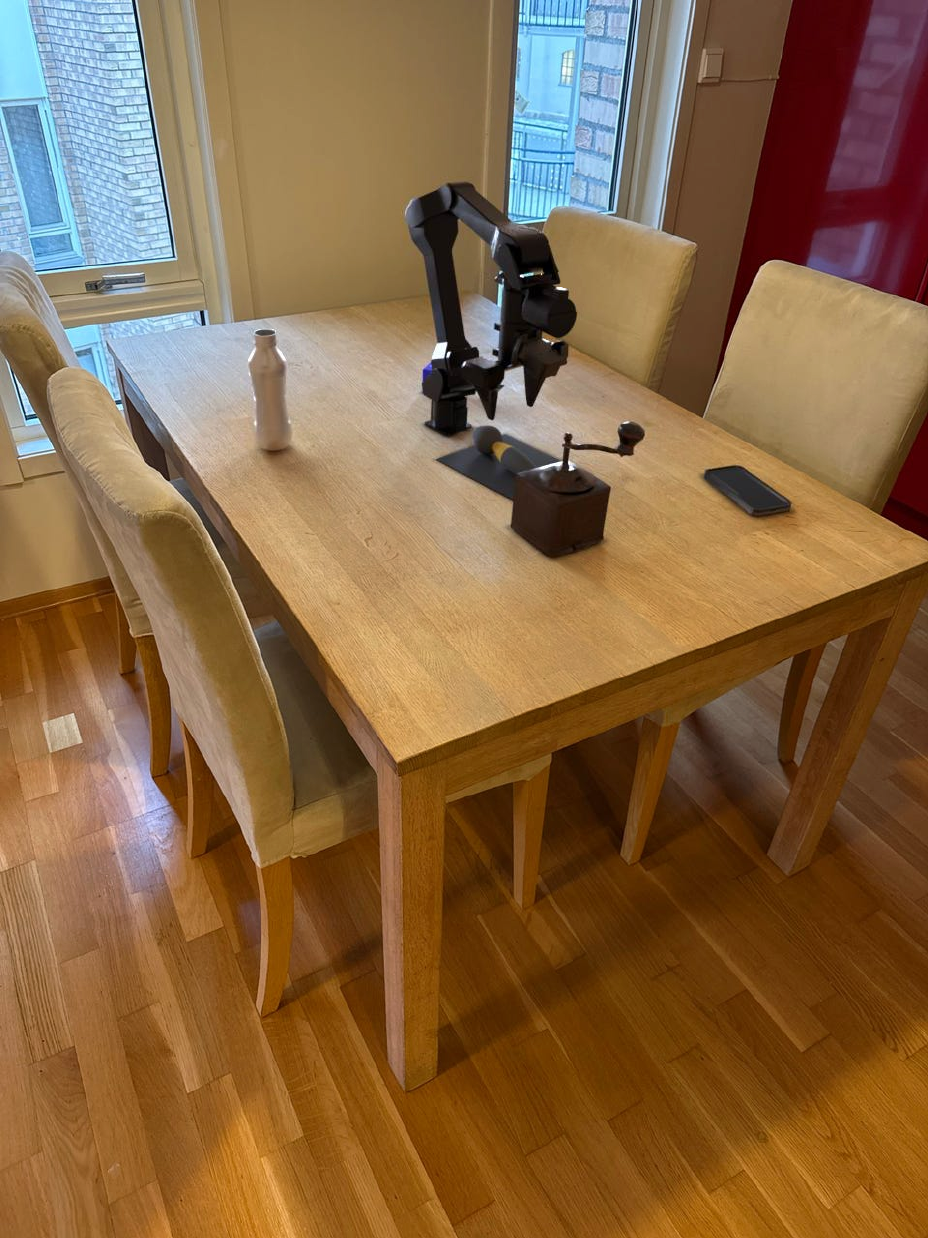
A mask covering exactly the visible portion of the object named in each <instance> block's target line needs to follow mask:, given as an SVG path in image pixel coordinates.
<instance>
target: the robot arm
mask: <svg viewBox="0 0 928 1238" xmlns="http://www.w3.org/2000/svg"><path fill="white" fill-rule="evenodd" d="M404 214H405V215H404V216H405V221H406V224H407V226H408V231H409V236H410V240H411V241H412V243H413V244H414V246H415V247H416V248H417V249H418V251H419V252H420V253H421V255H422V256H423V262H424V268H425V275H426V280H427V286H428V292H429V299H430V305H431V310H432V319H433V323H434V330H435V336H436V345H435V348H434V351H433V353H432V356H431V359H430V363H431V365H432V372H431V374H430V375H429V376H428V377H427V378H426V379H425V380H424V381H423V382H421V390H422V389H423V393H422V394H423V396H425V397H426V398H428V399H429V400H430V403H431V404H430V419H429V420H426V421H424V426H426V427H427V428H430V429H432V430H434V432H435V431H436V432H437V433H439V434H442V435H443V436H445V437H449V436H453V435H454V434H458V433H460V432H463V431H466V430H469V429H472V427H473V425H472V423H469V422H468V409H469V408H468V396H475V395H476V394H477V395H478V398H479V400H480V402H481V405H482V408H483V410H484V412H485V414H486V417H487V419H488V420H489V421H494V420H495V418H496V412H497V404H498V396H499V392H500V391H501V390H502V389H503V388H504V387H505V384H504V383H503V381H504V380H505V374H506V372H508V371H512V370H515V369H517V368H521V367H523V368H522V369H523V370H522V371H523V381H524V382H523V383H524V395H525V396H524V397H525V403H526V406H527V407H529V408H532V407H534V406H535V403H536V400H537V398H538V395H539V394H540V392H541V389H542V387H543V385H544V383H545V381H546V380H547V379H548V378H550V377H556V376H557V375H558V372H559V370H560V368H561V367H562V366H565V365H567V364H568V358H569V350H570V349H569V347H570V346H569V343H568V342H567V341H565V339H562V338H563V337H566V336H567V335H569V334H570V332H571V331H572V330H573V328H574V327H575V325H576V322H577V318H578V312H577V308H576V305H575V302H573V300H571V299H570V298H569V296H570V291H569V289H567V288H563V287H558V286H557V285H560V284H561V277H560V275H559V274H560V273H559V272H560V271H559V269H558V266H557V264H556V261H555V259H554V254H553V251H552V248H551V245H550V241H549V239H548V237H547V235H545V233H543V232H542V231H540V230H538V229H536V228H535V227H532V226H530V225H526V224H522V223H518V222H515V221H513V220H511V219H510V218H509V217H508V216H506V214H504V213H503V212H502V211H501V210H500V209H499V208H497V207H496V206H495V205H494V204H493V203H492V202H490V201H489V200H488V199H487V198H486V197H485V196H483V195H482V194H481V193H480V192H479V191H478V190H476V187H475V185H474V184H473V183H472V182H469V181H467V180H466V181H455V182H454V181H453V182H447V183H445V184H443V185H441V186H440V187H438V188H437V189H435V190H433V191H430V192H428V193H425V194H424V195H422V196H418V197H413V198H411V200H410V201H409V203H408V205H407V206H406V208H405V213H404ZM459 221H461V222H462V223H463V224H464V225H465V226H467V227H468V228H469V230H471V231H472V232H473V233H474V234H475V235H477V237H479V238H480V239H481V240H482V241H483V242H484V243H485V244H486V245H488V246H489V248H490V249H491V259H492V260H493V262H494V263H495V264H496V266H497V267H498V269H500V271H501V273H499V274H497V276H495V277H494V283H496V284H499V285H501V286H502V288H501V303H500V316H499V321H497V322H494V323H493V324H494V325H493V330H495V331H497V332H498V333H499V334H498V345H497V346H496V347H493V348H492V352H491V353H492V354H491V356H493V357H496V358H497V360H491V359H489V358H487V357H484V356H480V351H479V349H478V347H477V346H472V345H471V344H470V342H469V341H468V340H467V338H466V335H465V329H464V327H465V326H464V322H463V315H462V310H461V300H460V295H459V288H458V283H457V281H458V280H457V275H456V268H455V261H454V255H453V250H454V246H455V243H456V240H457V238H458V235H459ZM540 272H542V273H540ZM535 273H538V274H535ZM528 274H529V275H528ZM530 274H532V275H530ZM523 275H524V276H523ZM543 333H545V334H547V335H548V336H550V337H553V338H555V339H560V340H557V341H555V342H552V341H551V340H546V339H544V338H543Z"/></svg>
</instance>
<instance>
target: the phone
mask: <svg viewBox="0 0 928 1238" xmlns="http://www.w3.org/2000/svg"><path fill="white" fill-rule="evenodd" d="M703 479H704V480H705V481H707V482H708V483H709V484H711V485H712V486H713V487H715V489H717V490H718V491H720V492H721V493H722V494H724V495H725V496H726V497H727V498H729V499H730V500H731V501H733V502H734V503H735V504H736V505H738V506H739V507H740V508H742V509H743V510H744V511H746V512H747V513H748V514H749V515H752V516H754V517H761V516H768V515H773V514H779V513H785V512H790V510H791V507H792V503H793V502H792V501H791V500H789V498H787V497H786V496H784V495H783V494H781V493H780V492H778V491H777V490H776V489H775V488H773V487H772V486H770V485H769V484H768V483H766V482H765V481H764V480H762V479H761V478H759V477H758V476H757V475H755V474H754V473H753V472H751V471H750V470H749V469H747V468H745V467H744V466H742V465H740V464H739V465H738V464H732V465H727V466H719V467H713V468H707V469H705V470H704V472H703Z"/></svg>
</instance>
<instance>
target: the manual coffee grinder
mask: <svg viewBox="0 0 928 1238" xmlns="http://www.w3.org/2000/svg"><path fill="white" fill-rule="evenodd" d="M616 433H617V435H618V438H619V442H618V444H617V445H616V446H615V447H610V446H606V445H602V444H596V443H595V444H594V443H572V440H573V437H574V436H573V433H571V432H565V433H564V434H563V441H562V444H561V447H563V452H562V460H561V461H562V462H558V463H554V464H551V465H547V466H543V467H539V468H535V469H531V470H527V471H524V472H520V473H516V476H515V488H514V497H513V501H512V510H511V518H510V519H511V521H510V529H511V530H513V531H514V532H515V533H516V534H517V535H518V536H519V537H521V538H522V539H523V540H525V541H526V542H527V543H528V544H530V545H531V546H533V547H534V548H535V549H537V550H538V551H539V552H540V553H541V554H543V555H544V556H546V557H548V558H550V559H554V558H556V557H561V556H563V555H567V554H572V553H574V552H578V551H581V550H584V549H586V548H588V547H591V546H593V545H596V544H598V543H599V542H602V541H603V540H604V539H605V538H604V537H605V536H604V532H605V526H606V520H607V514H608V507H609V501H610V495H611V491H612V488H611V485H609V484H608V483H607V482H606V481H604V480H602V479H601V478H599V477H597V476H595V475H594V474H593V473H591V472H589V471H587V470H586V469H584V468H582V467H581V466H580V465H578V464H576V463H574V462H572V461H570V460H569V459H570V453H571V450H574V451H600V452H604V453H606V454H607V453H608V454H614V455H618V456H620V457H621V458H623V457H626V456H628V457H632V456H634V455H635V452H634V451H635V447H636V446H637V445H638V444H639V443H641V442H642V441H643V440H644V438H645V436H646V432H645V429H644V428H643V427H642V426H641V424H639V423H638V422H634V421H631V420H630V421H625V422H622V423H620V425H619V426H618V427H617V432H616Z"/></svg>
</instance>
